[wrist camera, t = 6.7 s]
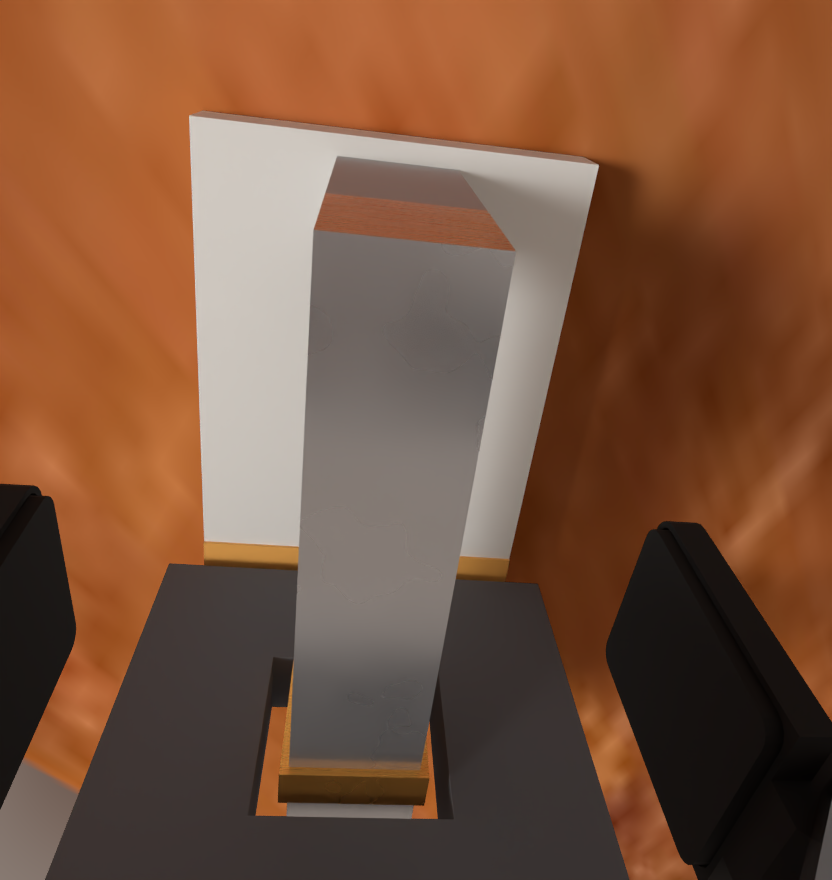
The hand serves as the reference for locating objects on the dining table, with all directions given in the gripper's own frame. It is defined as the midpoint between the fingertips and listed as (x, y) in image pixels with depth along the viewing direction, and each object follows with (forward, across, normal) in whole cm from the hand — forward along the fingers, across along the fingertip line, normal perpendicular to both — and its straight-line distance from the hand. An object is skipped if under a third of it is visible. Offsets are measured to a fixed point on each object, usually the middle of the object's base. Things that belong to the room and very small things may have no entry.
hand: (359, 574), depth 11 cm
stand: (+11, -1, +5) cm, 12 cm away
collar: (+9, -1, +9) cm, 13 cm away
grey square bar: (+5, 0, +5) cm, 7 cm away
